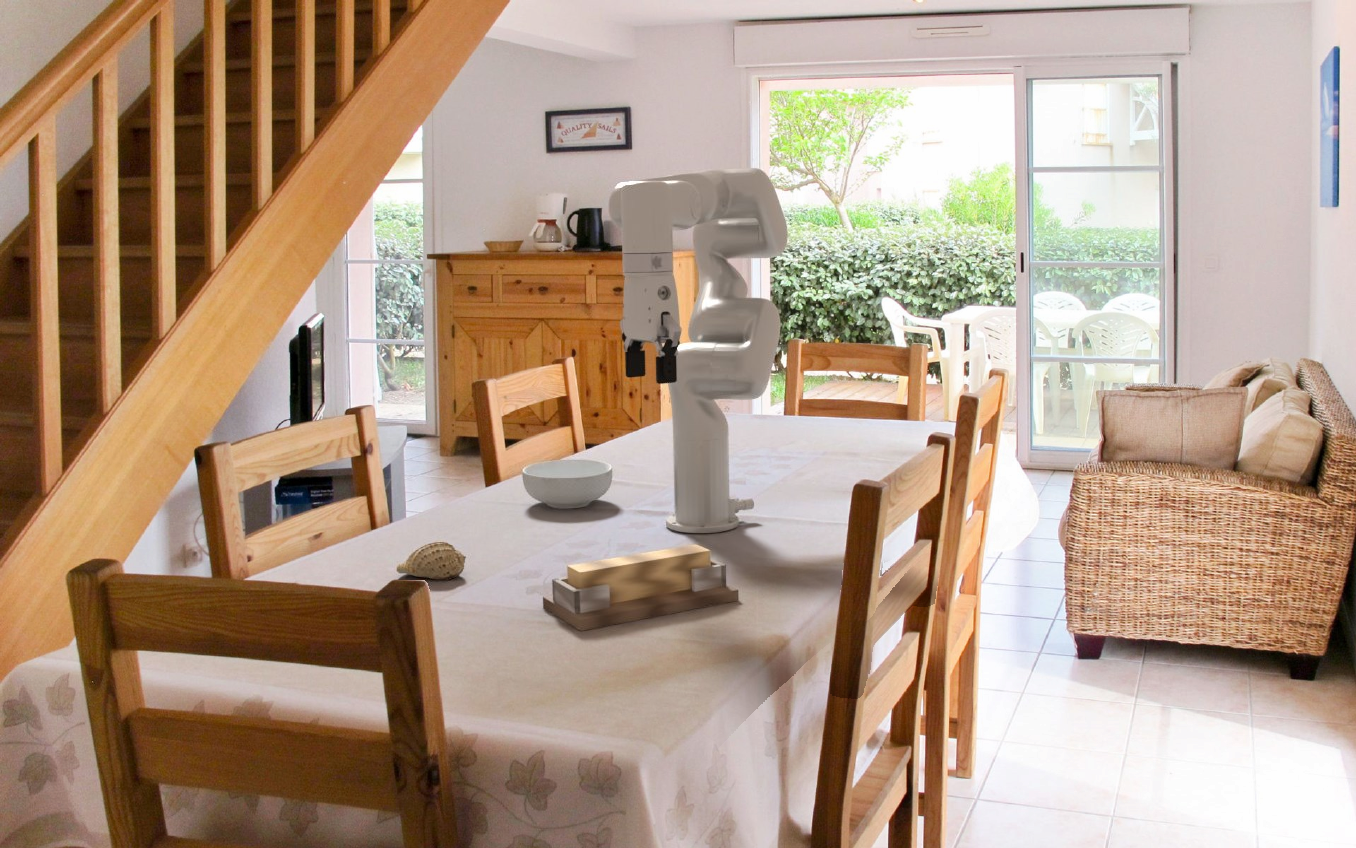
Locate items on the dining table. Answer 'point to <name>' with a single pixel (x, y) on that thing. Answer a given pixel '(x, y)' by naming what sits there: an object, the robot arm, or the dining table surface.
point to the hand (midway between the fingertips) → (650, 379)
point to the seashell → (434, 562)
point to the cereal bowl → (567, 482)
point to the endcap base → (636, 600)
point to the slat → (641, 572)
